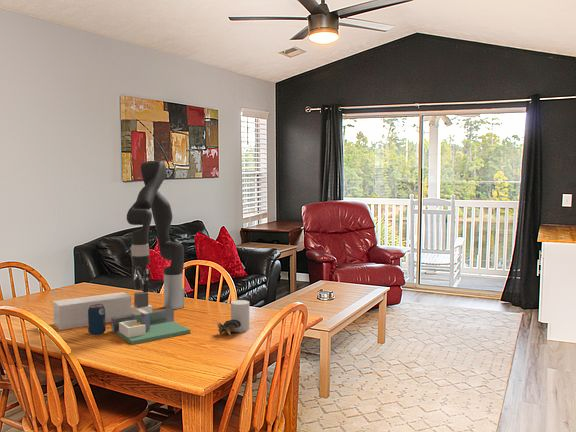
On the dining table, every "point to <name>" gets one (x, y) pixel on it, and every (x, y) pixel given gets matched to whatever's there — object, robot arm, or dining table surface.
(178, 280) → the robot arm
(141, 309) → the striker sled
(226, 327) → the toy animal figurine
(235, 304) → the cup
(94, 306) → the soda can
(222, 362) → the dining table surface
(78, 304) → the white ribbed long block
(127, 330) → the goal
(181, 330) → the pitch
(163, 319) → the rail
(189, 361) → the dining table surface
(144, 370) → the dining table surface
